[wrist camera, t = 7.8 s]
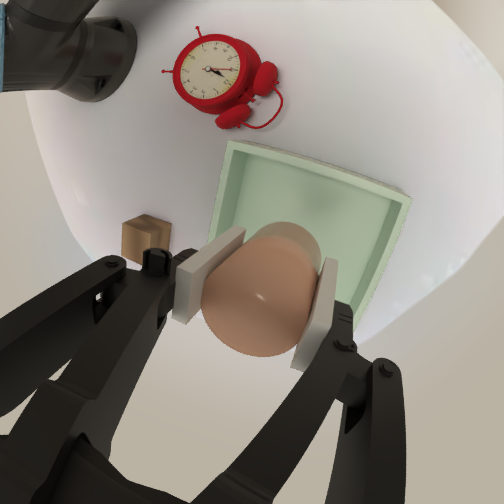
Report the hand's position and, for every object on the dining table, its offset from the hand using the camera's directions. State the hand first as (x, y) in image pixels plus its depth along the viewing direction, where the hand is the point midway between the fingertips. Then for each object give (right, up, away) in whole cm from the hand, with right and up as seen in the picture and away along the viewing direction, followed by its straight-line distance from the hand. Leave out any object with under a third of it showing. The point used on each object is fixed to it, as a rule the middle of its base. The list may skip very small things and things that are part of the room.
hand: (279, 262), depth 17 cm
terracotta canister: (0, 0, +2) cm, 2 cm away
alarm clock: (-4, +21, +13) cm, 25 cm away
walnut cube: (-16, +3, +23) cm, 28 cm away
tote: (+4, +2, +17) cm, 18 cm away
